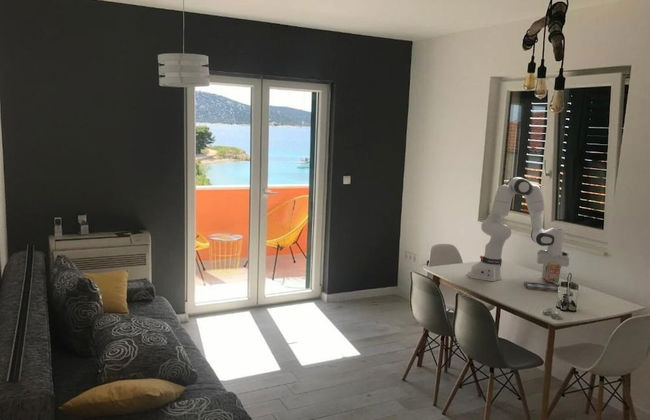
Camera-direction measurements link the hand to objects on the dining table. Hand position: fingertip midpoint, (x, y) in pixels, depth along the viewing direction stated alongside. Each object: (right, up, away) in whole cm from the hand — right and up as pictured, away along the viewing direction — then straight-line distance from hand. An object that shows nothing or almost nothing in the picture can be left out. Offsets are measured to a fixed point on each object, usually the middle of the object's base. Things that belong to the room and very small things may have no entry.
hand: (551, 271), depth 367 cm
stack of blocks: (-1, -6, +1) cm, 6 cm away
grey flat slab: (-10, -10, -15) cm, 21 cm away
